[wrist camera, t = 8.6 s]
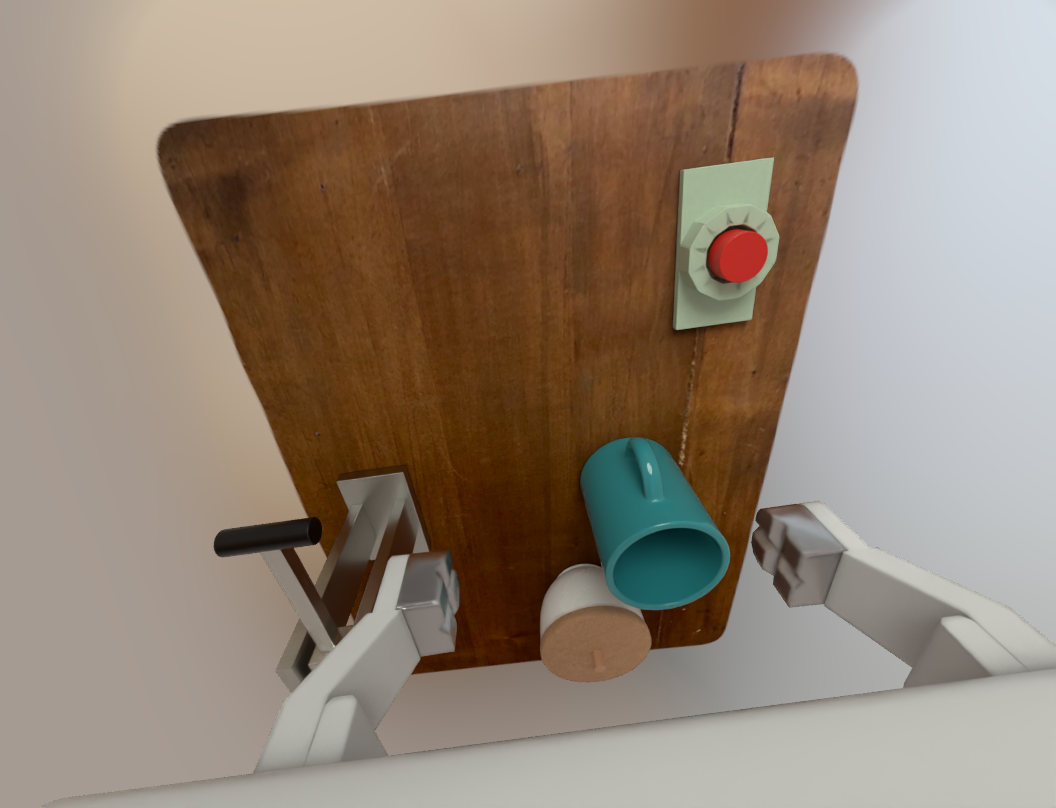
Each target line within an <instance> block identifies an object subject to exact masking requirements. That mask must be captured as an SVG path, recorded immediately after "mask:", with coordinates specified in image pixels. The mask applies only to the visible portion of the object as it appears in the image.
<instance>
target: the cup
mask: <svg viewBox="0 0 1056 808" xmlns="http://www.w3.org/2000/svg"><path fill="white" fill-rule="evenodd" d="M580 487H581V492H582V496H583V499H584V503H585V507H586V510H587V514H588V518H589V521H590V525H591V529H592V532H593V536H594V540H595V544H596V547H597V551H598V555H599V558H600V562H601V566H602V569H603V573H604V577H605V580H606V584H607V586H608V588H609V590H610V592H611V593H612V594H613V595H614V596H615V597H616V598H617V599H618V600H619V601H621V602H623V603H625V604H626V605H629V606H632V607H635V608H639V609H645V610H664V609H670V608H675V607H679V606H682V605H685V604H688V603H690V602H692V601H694V600H696V599H698V598H700V597H702V596H703V595H705V594H706V593H708V592H709V591H710V590H711V589H713V588H714V587H715V586H716V585H717V584H718V583H719V581H720V580H721V579H722V578H723V576H724V574H725V573H726V571H727V568H728V565H729V561H730V550H729V546H728V543H727V541H726V540H725V538H724V536H723V535H722V533H721V532H720V530H719V529H718V527H717V526H716V524H715V522H714V521H713V519H712V518H711V516H710V515H709V513H708V512H707V510H706V509H705V507H704V505H703V504H702V502H701V501H700V499H699V498H698V496H697V495H696V493H695V491H694V490H693V488H692V487H691V485H690V484H689V482H688V481H687V479H686V478H685V476H684V474H683V473H682V471H681V470H680V468H679V467H678V465H677V464H676V462H675V460H674V459H673V457H672V456H671V455H670V453H669V452H668V451H667V450H666V449H665V448H664V447H663V446H662V445H660V444H659V443H657V442H655V441H652V440H650V439H646V438H642V437H628V438H622V439H618V440H614V441H612V442H610V443H607V444H606V445H604V446H602V447H601V448H599V449H598V450H597V451H595V452H594V453H593V454H592V455H591V457H590V458H589V459H588V460H587V462H586V464H585V465H584V467H583V470H582V473H581V478H580Z"/></svg>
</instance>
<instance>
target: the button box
mask: <svg viewBox="0 0 1056 808" xmlns="http://www.w3.org/2000/svg"><path fill="white" fill-rule="evenodd" d="M773 162H774V158H765V159H758V160H751V161H743V162H736V163H729V164H722V165H715V166H707V167H700V168H693V169H686V170H680V184H679V206H678V228H677V249H676V271H675V293H674V315H673V328H674V329H675V330H681V329H688V328H695V327H702V326H710V325H717V324H724V323H731V322H739V321H746V320H752V314H753V307H754V300H755V292H756V286H758V285H759V284H760V283H761V282H762V281H763V279H764V278H765V276H766V275H767V273H768V272H769V270H770V269H771V267H772V266H773V264H774V263H775V261H776V256H777V249H778V243H779V234H778V232H777V229H776V227H775V225H774V222H773V220H772V217H771V216H770V214H768V213H767V205H768V198H769V191H770V184H771V177H772V169H773ZM733 229H740V230H746V231H752V232H756V233H758V234H760V235H761V236H762V237H763V238H764V239H765V241H766V243H767V246H768V256H767V259H766V262H765V264H764V266H763V268H762V269H761V271H760V272H759V273H758V274H757V275H756V276H754V277H753V278H751V279H750V280H748V281H745V282H741V283H734V282H730V281H728V280H725V279H723V278H720V277H718V276H716V275H715V274H713V273H712V271H711V270H710V268H709V265H708V254H709V250H710V248H711V246H712V244H713V243H714V241H715V240H716V239H717V238H718V237H719V236H720V235H721V234H723V233H724V232H727V231H729V230H733Z"/></svg>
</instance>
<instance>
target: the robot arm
mask: <svg viewBox="0 0 1056 808" xmlns="http://www.w3.org/2000/svg"><path fill="white" fill-rule="evenodd" d="M756 522H757V523H758V524H759V527H758V528H757V529H756V530H755V531H754V532H753V535H752V542H751V543H752V548H753V553H754V555H755V557H756V560H757V561H758V563H759V564H760V566H761V567H762V569H763V570H765V571H766V572H768V573H770V574H771V575H773V576H774V580H773V585H774V586H775V588H776V589H777V591H778V592H779V593H780V595H781V596H782V598H783V599H784V601H785V602H786V603H787V605H788V606H789V607H799V606H809V605H819V604H824V606H825V607H827V608H828V609H829V610H831V611H832V612H834V613H835V614H837V615H838V616H839V617H841V618H842V619H844V620H845V621H847V622H848V623H850V624H851V625H852V626H854V627H855V628H856V629H858V630H859V631H861V632H862V633H864V634H865V635H867V636H868V637H870V638H871V639H872V640H874V641H875V642H877V643H878V644H879V645H881V646H882V647H884V648H885V649H886V650H888V651H889V652H891V653H892V654H894V655H895V656H896V657H898V658H899V659H901V660H902V661H904V662H905V663H906V664H908V665H909V666H911V667H912V670H911V672H910V673H909V675H908V677H907V679H906V681H905V682H904V687H903V688H901V689H894V690H886V691H878V692H871V693H863V694H855V695H848V696H840V697H833V698H825V699H817V700H810V701H803V702H795V703H787V704H779V705H772V706H764V707H756V708H749V709H741V710H733V711H726V712H718V713H710V714H702V715H695V716H688V717H680V718H672V719H665V720H657V721H650V722H642V723H635V724H627V725H619V726H612V727H604V728H597V729H589V730H581V731H574V732H566V733H558V734H551V735H543V736H536V737H528V738H521V739H513V740H505V741H498V742H490V743H483V744H475V745H468V746H460V747H453V748H444V749H437V750H429V751H422V752H414V753H406V754H399V755H391V756H388V754H387V752H386V750H385V749H384V747H383V745H382V743H381V742H380V740H379V738H378V736H377V734H376V733H375V730H376V728H377V727H378V725H379V723H380V722H381V720H382V719H383V717H384V715H385V714H386V712H387V711H388V709H389V708H390V706H391V705H392V703H393V701H394V700H395V698H396V696H397V695H398V694H399V692H400V690H401V689H402V687H403V686H404V684H405V683H406V681H407V679H408V678H409V676H410V675H411V673H412V672H413V670H414V668H415V667H416V665H417V664H418V662H419V661H420V657H421V656H427V655H434V654H440V653H446V652H452V651H455V641H456V631H457V623H456V620H455V617H454V614H455V613H456V612H457V610H458V609H459V582H458V576H457V573H456V571H455V570H454V569H452V562H453V559H452V555H451V552H450V550H441V551H432V552H422V553H412V554H406V555H397V556H391V558H390V559H389V560H388V562H387V566H386V569H385V572H384V576H383V579H382V582H381V586H380V589H379V592H378V596H377V599H376V602H375V606H374V609H373V612H372V613H368V614H366V615H365V616H364V617H363V618H362V619H361V620H360V621H359V622H358V623H357V624H356V625H355V626H354V627H353V628H352V630H351V631H350V632H349V633H348V634H347V635H346V636H345V637H344V638H343V639H342V640H341V641H340V642H339V643H338V644H337V645H336V646H335V648H334V649H333V650H332V651H331V652H330V653H329V654H328V655H327V656H326V657H325V658H324V659H323V660H322V661H321V662H320V663H319V664H318V665H317V667H316V668H315V669H314V670H313V671H312V672H311V673H310V674H309V675H308V676H307V677H306V678H305V679H304V680H303V681H302V682H301V683H300V685H299V686H298V687H297V688H296V689H295V690H294V691H293V692H292V693H291V694H290V695H289V696H288V697H287V698H286V699H285V700H284V702H283V704H282V706H281V709H280V711H279V713H278V716H277V718H276V720H275V723H274V725H273V728H272V730H271V732H270V734H269V737H268V739H267V742H266V744H265V747H264V749H263V751H262V753H261V756H260V758H259V760H258V763H257V765H256V768H255V770H254V772H253V774H246V775H238V776H231V777H223V778H215V779H208V780H201V781H192V782H186V783H177V784H170V785H162V786H154V787H147V788H139V789H131V790H124V791H115V792H107V793H99V794H92V795H83V796H75V797H69V798H63V799H59V800H56V801H53V802H50V803H48V804H45V805H43V806H41V807H39V808H1056V645H1055V644H1054V643H1053V642H1051V641H1050V640H1049V639H1048V638H1046V637H1045V636H1044V635H1043V634H1042V633H1040V632H1039V631H1038V630H1036V629H1035V628H1034V627H1033V626H1032V625H1031V624H1029V623H1028V622H1027V621H1025V619H1023V618H1022V617H1021V616H1020V615H1018V614H1017V613H1016V612H1015V611H1013V610H1012V609H1011V608H1010V607H1007V606H1006V605H1003V604H1001V603H999V602H997V601H994V600H992V599H990V598H988V597H986V596H983V595H981V594H979V593H977V592H975V591H972V590H970V589H968V588H966V587H963V586H961V585H959V584H957V583H955V582H952V581H950V580H948V579H946V578H944V577H942V576H939V575H937V574H935V573H933V572H930V571H928V570H926V569H924V568H922V567H919V566H917V565H915V564H913V563H910V562H908V561H906V560H904V559H902V558H900V557H897V556H895V555H893V554H891V553H888V552H886V551H884V550H882V549H880V548H870V547H869V546H868V545H867V544H866V543H865V542H864V541H863V540H862V539H861V538H860V537H859V536H858V535H857V534H856V533H855V532H854V531H853V530H852V529H851V528H849V527H848V526H847V525H846V524H845V523H844V522H843V521H842V520H841V519H840V518H839V517H838V516H837V515H836V514H835V513H834V512H833V511H832V510H831V509H830V508H829V507H828V506H827V505H826V504H824V503H822V502H820V501H814V502H807V503H800V504H793V505H785V506H778V507H771V508H764V509H760V510H759V511H758V512H757V515H756Z"/></svg>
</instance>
